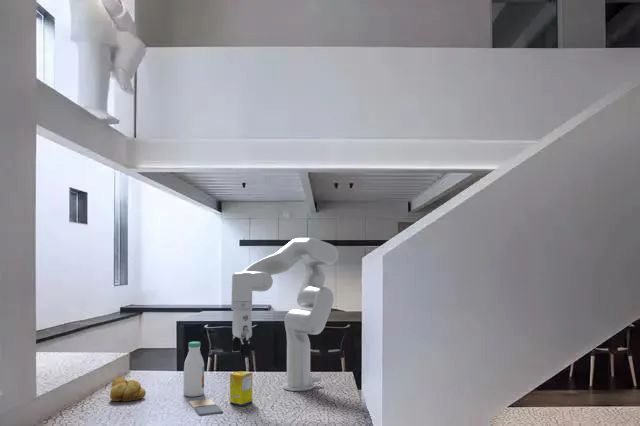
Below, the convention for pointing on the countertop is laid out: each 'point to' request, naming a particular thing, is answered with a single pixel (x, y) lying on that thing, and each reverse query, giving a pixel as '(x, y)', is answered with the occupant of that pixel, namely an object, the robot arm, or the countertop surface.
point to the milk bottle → (194, 371)
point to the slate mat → (208, 410)
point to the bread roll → (126, 390)
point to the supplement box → (240, 388)
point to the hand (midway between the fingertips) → (240, 353)
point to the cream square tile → (202, 403)
